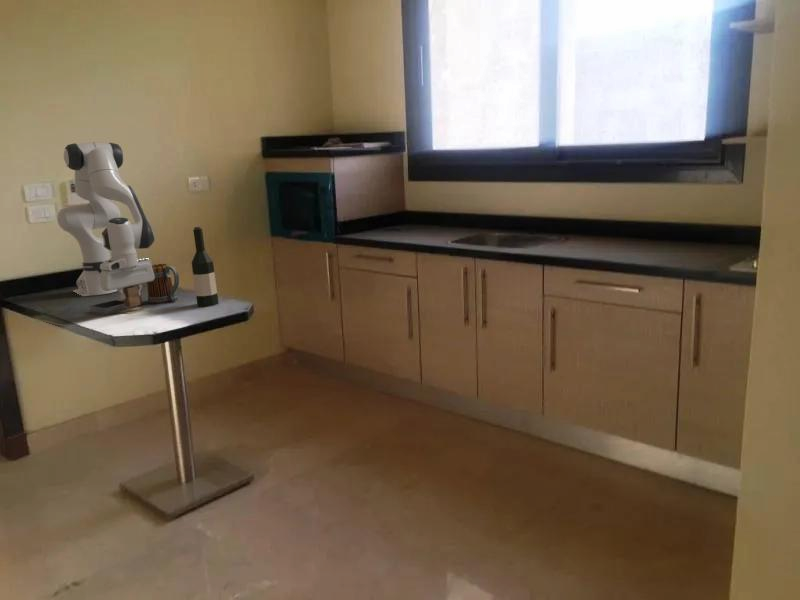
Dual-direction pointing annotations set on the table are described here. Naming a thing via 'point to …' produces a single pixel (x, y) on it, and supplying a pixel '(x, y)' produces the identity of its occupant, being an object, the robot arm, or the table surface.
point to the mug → (162, 285)
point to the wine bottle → (203, 273)
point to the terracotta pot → (139, 298)
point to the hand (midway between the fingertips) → (131, 297)
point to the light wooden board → (133, 310)
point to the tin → (109, 307)
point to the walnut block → (131, 296)
